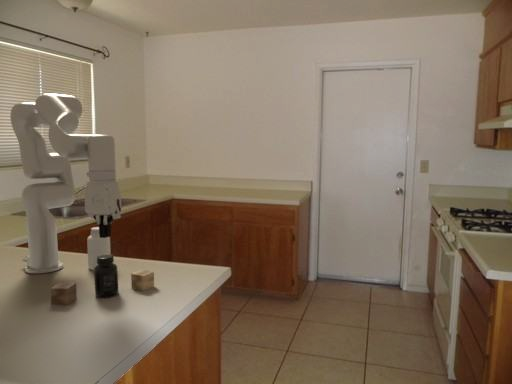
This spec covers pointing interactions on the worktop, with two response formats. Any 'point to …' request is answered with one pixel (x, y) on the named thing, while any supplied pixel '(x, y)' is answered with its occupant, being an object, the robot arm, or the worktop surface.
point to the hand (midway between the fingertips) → (105, 236)
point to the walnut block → (63, 293)
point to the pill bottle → (97, 247)
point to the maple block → (142, 280)
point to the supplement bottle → (106, 277)
